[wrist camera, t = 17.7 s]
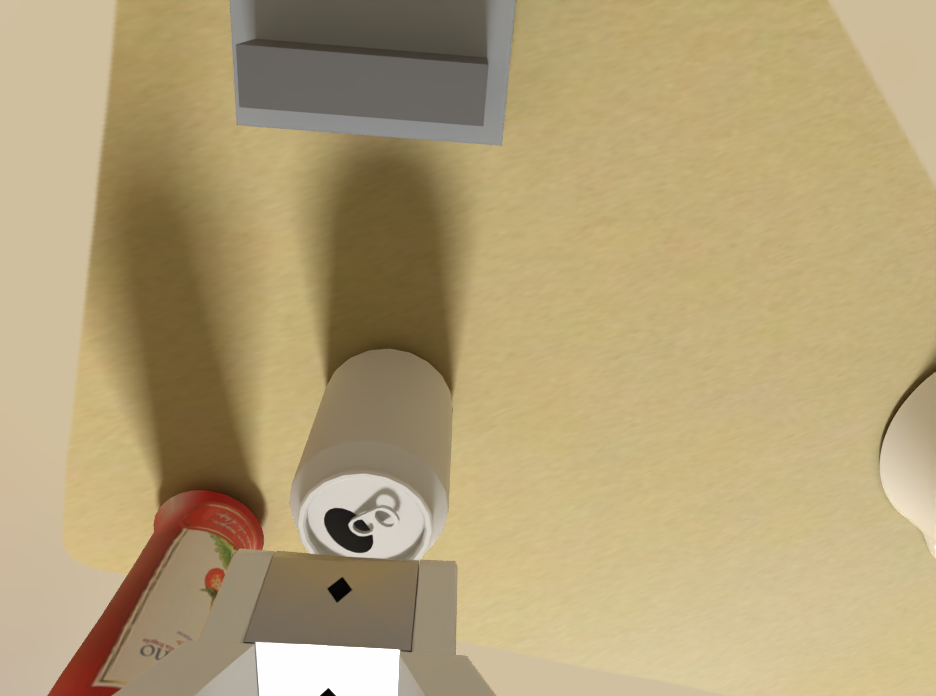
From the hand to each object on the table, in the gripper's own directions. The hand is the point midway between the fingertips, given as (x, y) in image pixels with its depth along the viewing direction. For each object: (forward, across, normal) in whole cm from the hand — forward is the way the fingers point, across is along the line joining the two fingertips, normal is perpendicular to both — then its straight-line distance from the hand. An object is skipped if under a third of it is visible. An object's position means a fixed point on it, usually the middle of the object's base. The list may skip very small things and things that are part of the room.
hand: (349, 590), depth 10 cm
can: (+31, +2, +15) cm, 35 cm away
